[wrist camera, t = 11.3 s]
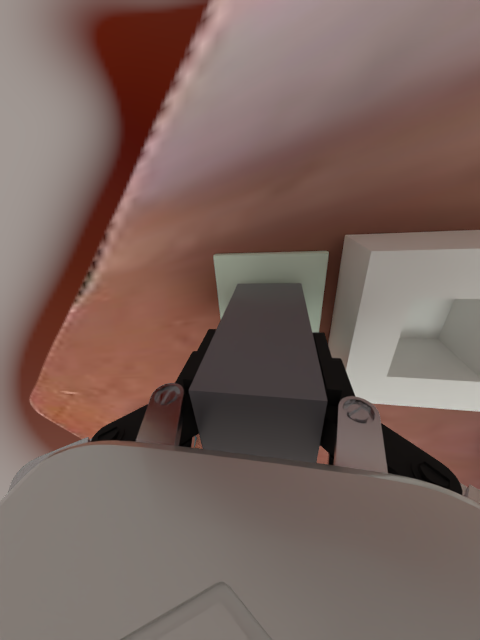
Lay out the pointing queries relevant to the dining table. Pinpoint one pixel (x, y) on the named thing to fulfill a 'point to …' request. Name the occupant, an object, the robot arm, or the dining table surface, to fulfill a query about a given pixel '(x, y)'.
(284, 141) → the dining table surface
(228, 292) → the mat
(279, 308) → the plug
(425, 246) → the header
